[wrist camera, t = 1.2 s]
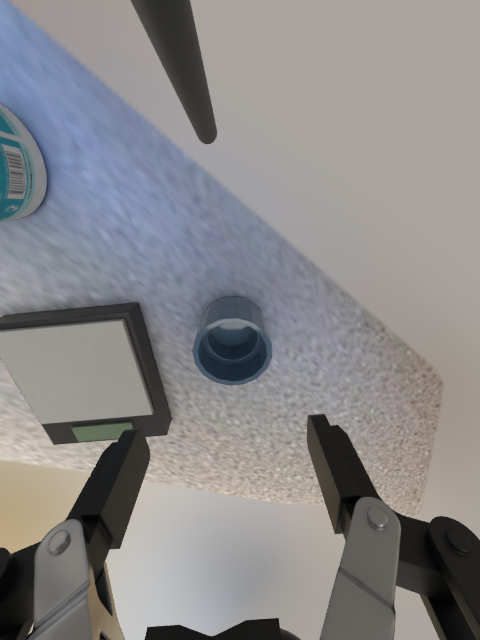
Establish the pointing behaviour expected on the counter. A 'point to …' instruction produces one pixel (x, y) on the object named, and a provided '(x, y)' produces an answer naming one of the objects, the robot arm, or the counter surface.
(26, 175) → the pill bottle
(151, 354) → the kitchen scale
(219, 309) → the blue cup
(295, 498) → the counter surface
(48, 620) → the robot arm
